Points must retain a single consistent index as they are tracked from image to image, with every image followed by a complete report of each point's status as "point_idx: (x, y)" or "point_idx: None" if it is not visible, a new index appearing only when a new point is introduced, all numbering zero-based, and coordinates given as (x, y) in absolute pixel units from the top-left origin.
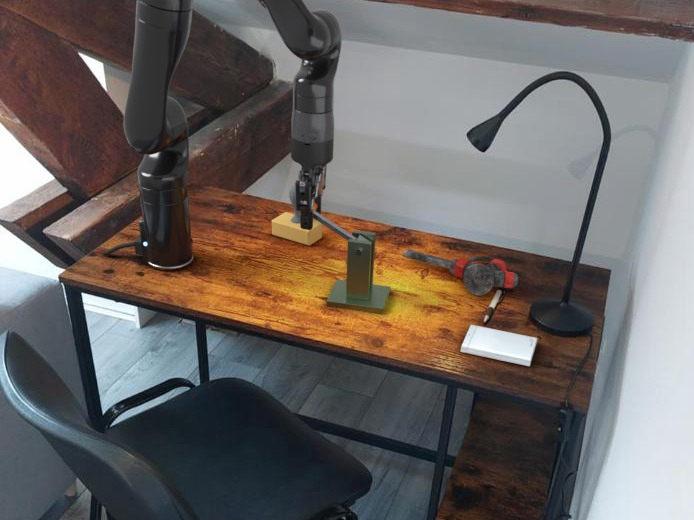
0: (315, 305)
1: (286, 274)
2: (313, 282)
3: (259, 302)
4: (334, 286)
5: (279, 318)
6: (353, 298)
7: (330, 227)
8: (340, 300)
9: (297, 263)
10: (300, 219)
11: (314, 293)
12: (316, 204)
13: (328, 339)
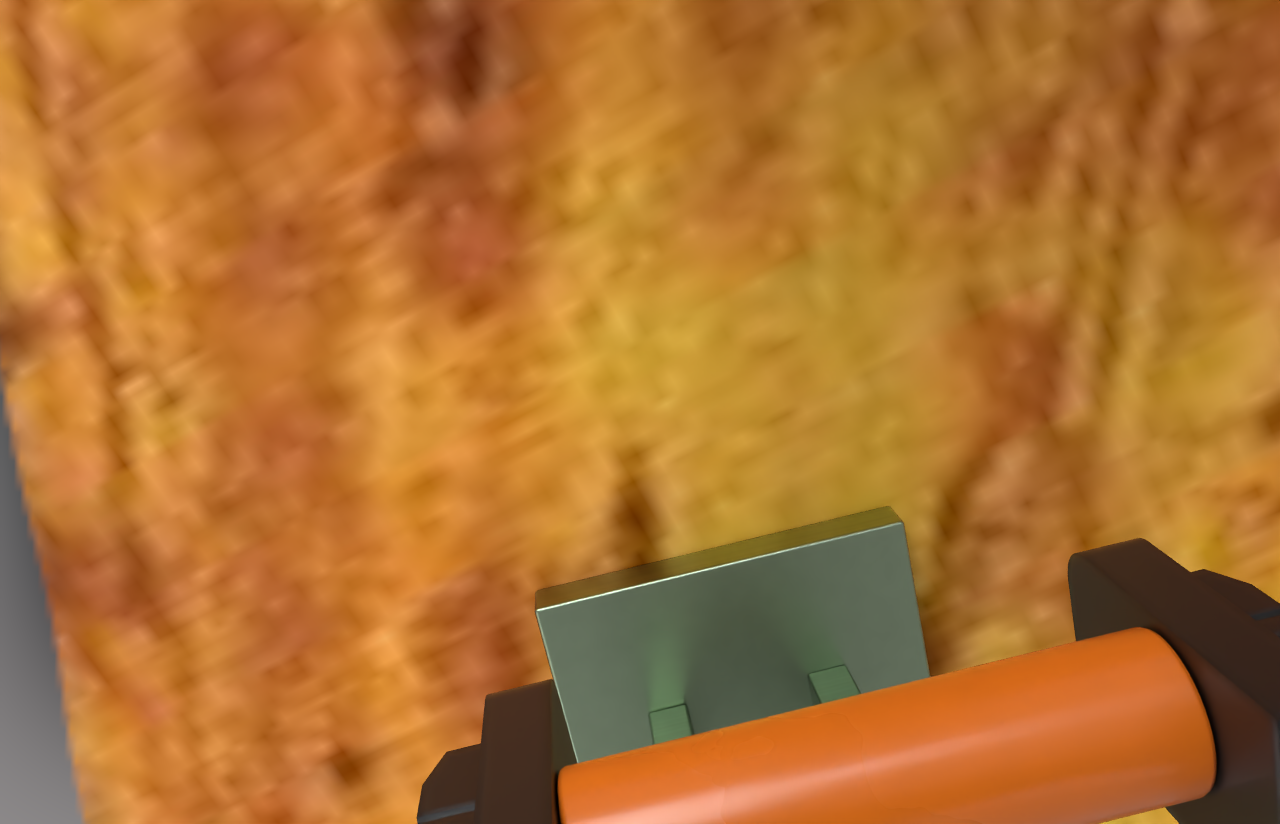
0: (504, 512)
1: (873, 38)
2: (842, 322)
3: (300, 79)
4: (781, 557)
5: (167, 365)
6: None
7: None
8: (593, 695)
9: (1111, 25)
10: (478, 777)
11: (675, 416)
12: (1176, 802)
13: (120, 806)
